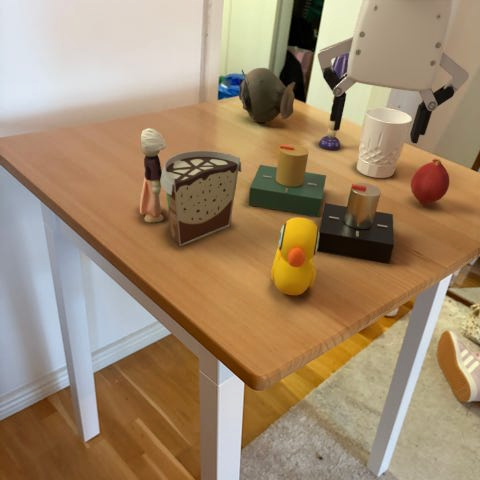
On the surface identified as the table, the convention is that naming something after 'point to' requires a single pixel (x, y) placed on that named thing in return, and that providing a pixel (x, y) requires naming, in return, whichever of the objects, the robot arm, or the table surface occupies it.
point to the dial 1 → (291, 165)
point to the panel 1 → (287, 192)
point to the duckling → (295, 256)
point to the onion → (430, 182)
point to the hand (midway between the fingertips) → (374, 133)
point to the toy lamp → (330, 140)
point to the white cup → (382, 141)
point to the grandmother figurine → (151, 175)
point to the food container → (199, 193)
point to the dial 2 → (362, 205)
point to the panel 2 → (356, 236)
